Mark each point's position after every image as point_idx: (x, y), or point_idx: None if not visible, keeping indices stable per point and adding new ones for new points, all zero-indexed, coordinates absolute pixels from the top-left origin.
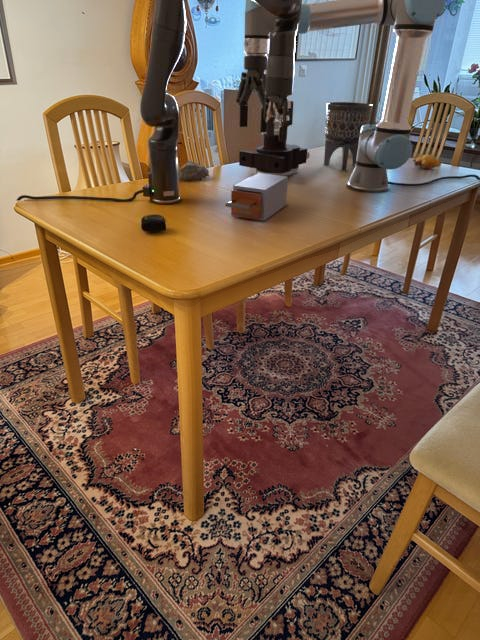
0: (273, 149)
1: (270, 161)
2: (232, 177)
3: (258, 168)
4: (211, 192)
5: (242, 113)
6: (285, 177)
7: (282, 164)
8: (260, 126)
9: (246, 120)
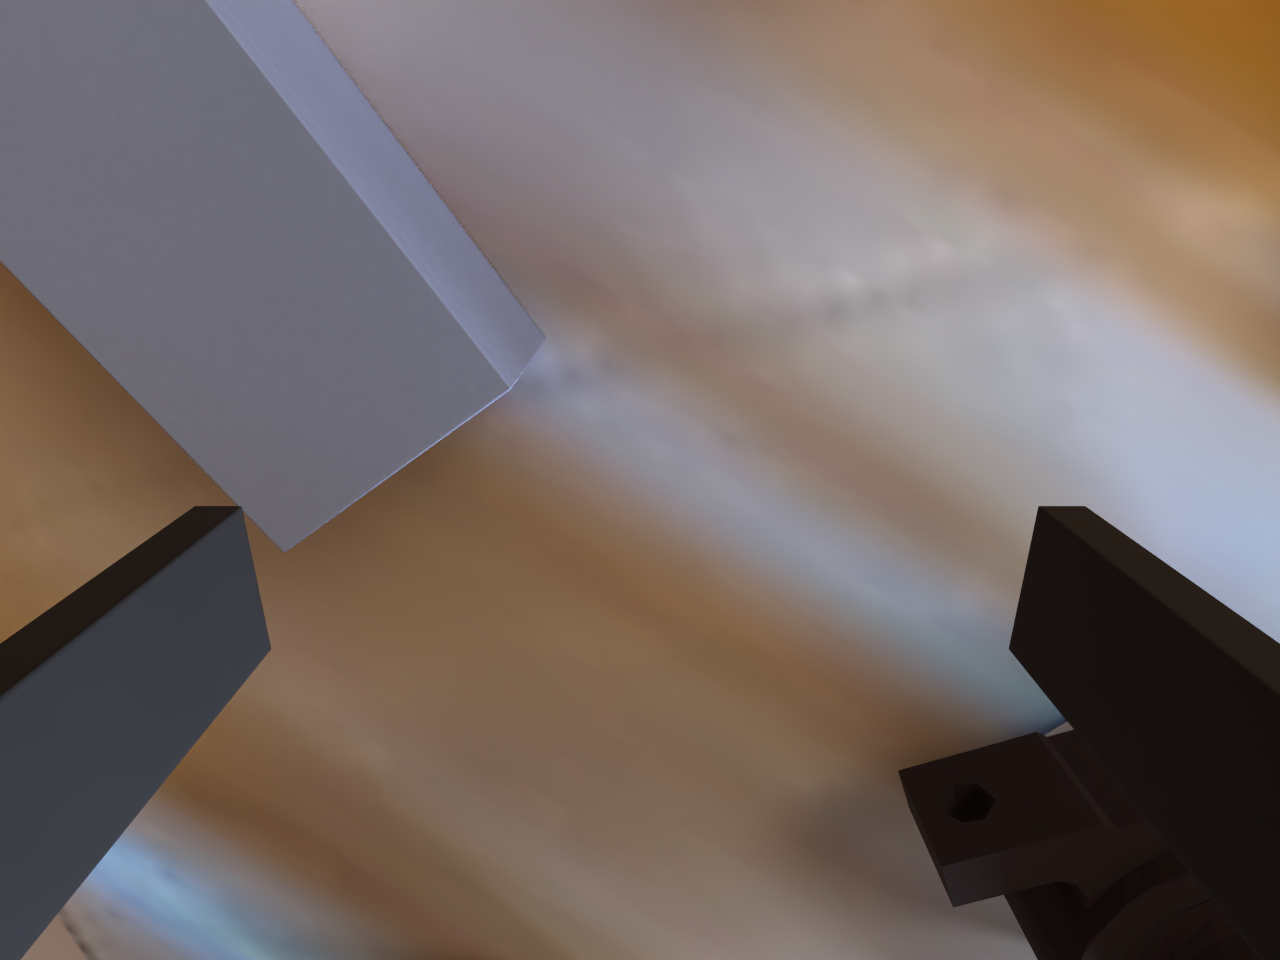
0: (1176, 940)
1: (1043, 799)
2: (1258, 519)
3: None
4: (955, 104)
5: (1210, 704)
6: (255, 516)
7: (925, 835)
8: (180, 553)
9: (1075, 701)
